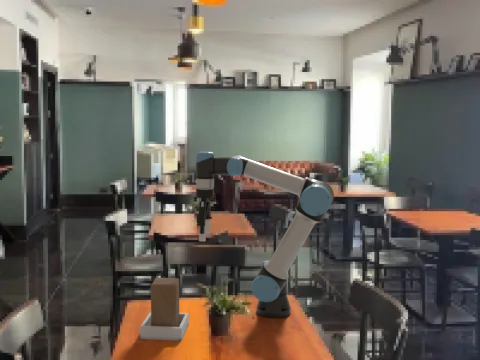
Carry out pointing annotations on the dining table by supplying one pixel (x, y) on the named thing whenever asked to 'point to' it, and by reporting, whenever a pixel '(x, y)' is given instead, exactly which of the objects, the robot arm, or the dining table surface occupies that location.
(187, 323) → the tray
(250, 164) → the robot arm
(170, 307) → the block
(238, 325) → the dining table surface
